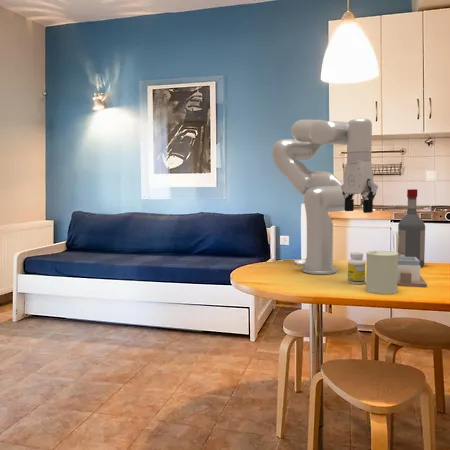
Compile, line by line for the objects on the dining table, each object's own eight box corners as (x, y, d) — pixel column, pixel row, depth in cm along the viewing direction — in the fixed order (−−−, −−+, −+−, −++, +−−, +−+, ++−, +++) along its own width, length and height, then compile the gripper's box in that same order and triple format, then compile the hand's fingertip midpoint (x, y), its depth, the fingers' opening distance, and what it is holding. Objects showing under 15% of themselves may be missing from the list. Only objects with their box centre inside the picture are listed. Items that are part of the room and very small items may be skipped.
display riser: (386, 285, 142) (386, 262, 142) (382, 275, 158) (382, 254, 157) (426, 287, 139) (427, 263, 138) (419, 277, 154) (419, 255, 154)
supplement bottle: (346, 281, 149) (346, 252, 149) (362, 280, 149) (362, 251, 148) (350, 284, 144) (350, 254, 143) (367, 284, 144) (367, 254, 143)
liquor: (421, 264, 180) (423, 189, 177) (425, 268, 171) (427, 189, 168) (396, 263, 182) (398, 189, 180) (399, 267, 173) (401, 189, 171)
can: (360, 287, 140) (361, 249, 139) (389, 286, 140) (390, 248, 139) (373, 294, 130) (373, 254, 129) (403, 293, 131) (404, 253, 130)
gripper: (333, 160, 150) (333, 210, 152) (366, 156, 134) (365, 213, 135) (352, 160, 153) (351, 210, 154) (386, 157, 136) (385, 212, 138)
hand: (358, 211), depth 145 cm, fingers open, 9 cm apart
